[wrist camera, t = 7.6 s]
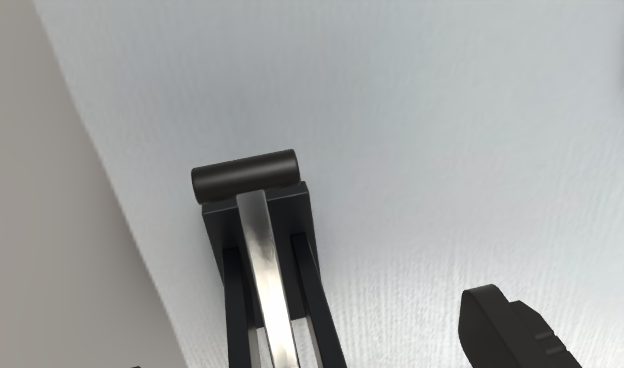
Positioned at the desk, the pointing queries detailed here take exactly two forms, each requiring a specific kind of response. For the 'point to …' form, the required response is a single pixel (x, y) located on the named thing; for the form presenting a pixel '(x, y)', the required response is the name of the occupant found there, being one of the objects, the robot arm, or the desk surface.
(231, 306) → the bracket
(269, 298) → the lever
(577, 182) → the desk surface
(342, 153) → the desk surface
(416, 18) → the desk surface
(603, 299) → the desk surface
